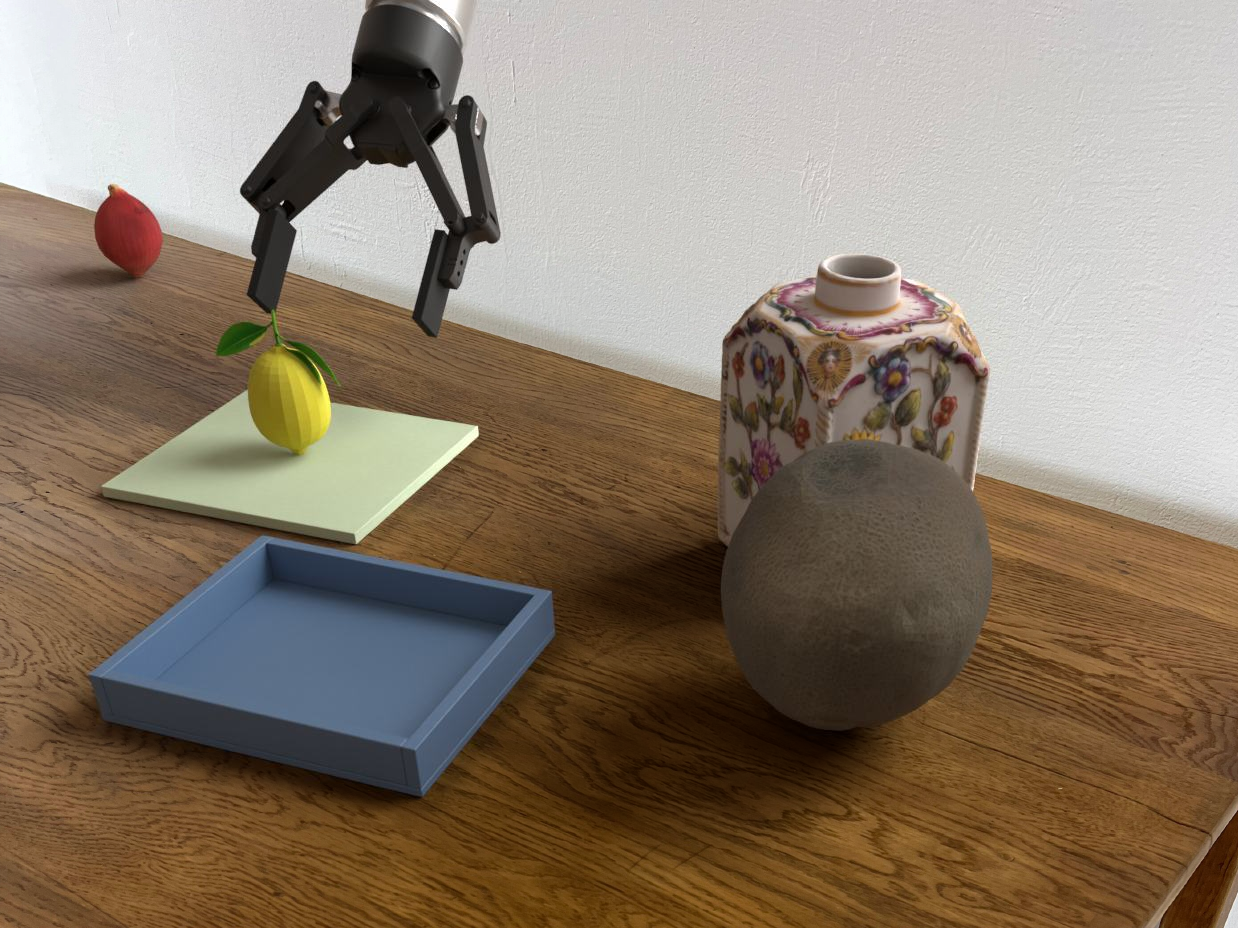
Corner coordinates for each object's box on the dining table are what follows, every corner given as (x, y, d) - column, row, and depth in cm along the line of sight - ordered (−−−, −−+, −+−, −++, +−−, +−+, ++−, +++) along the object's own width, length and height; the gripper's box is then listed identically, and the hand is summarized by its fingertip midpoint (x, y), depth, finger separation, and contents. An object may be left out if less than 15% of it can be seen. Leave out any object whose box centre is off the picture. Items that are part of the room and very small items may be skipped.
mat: (103, 497, 94) (100, 486, 94) (250, 399, 107) (247, 388, 106) (356, 545, 89) (354, 533, 88) (479, 436, 101) (478, 425, 101)
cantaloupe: (660, 708, 75) (658, 447, 65) (841, 622, 82) (865, 373, 72) (843, 833, 67) (873, 558, 57) (1027, 726, 74) (1083, 463, 64)
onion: (155, 262, 131) (133, 171, 125) (181, 277, 127) (159, 184, 122) (97, 275, 128) (71, 182, 123) (121, 291, 125) (97, 196, 119)
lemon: (237, 451, 98) (204, 307, 91) (308, 428, 100) (282, 287, 94) (283, 482, 94) (253, 335, 87) (357, 457, 97) (333, 313, 90)
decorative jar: (712, 540, 89) (717, 250, 77) (861, 502, 93) (888, 221, 81) (807, 624, 81) (830, 316, 69) (965, 579, 85) (1013, 280, 73)
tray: (103, 720, 74) (87, 674, 72) (271, 578, 86) (261, 534, 84) (422, 797, 69) (414, 750, 67) (555, 635, 81) (552, 590, 79)
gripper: (588, 82, 99) (515, 363, 99) (293, 57, 106) (224, 320, 105) (553, 10, 92) (475, 312, 91) (239, -13, 98) (165, 269, 98)
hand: (341, 317), depth 98 cm, fingers open, 13 cm apart
